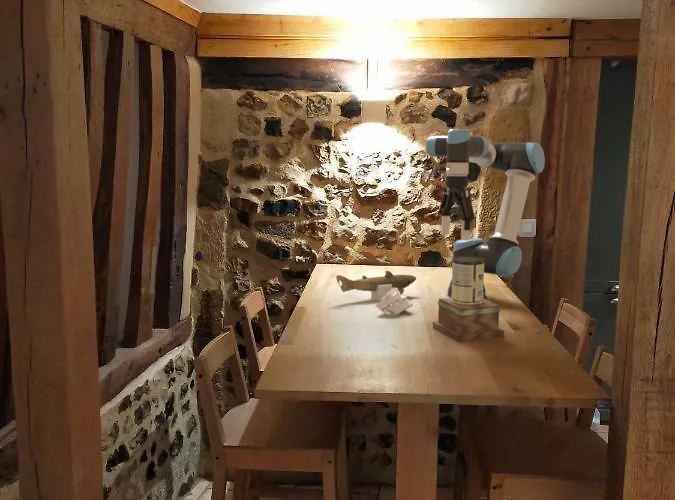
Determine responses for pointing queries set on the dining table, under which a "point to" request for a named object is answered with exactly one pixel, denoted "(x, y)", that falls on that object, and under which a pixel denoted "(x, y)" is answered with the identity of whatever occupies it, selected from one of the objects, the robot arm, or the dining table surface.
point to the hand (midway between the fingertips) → (454, 237)
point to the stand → (468, 320)
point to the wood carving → (377, 284)
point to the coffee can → (467, 280)
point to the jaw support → (394, 302)
